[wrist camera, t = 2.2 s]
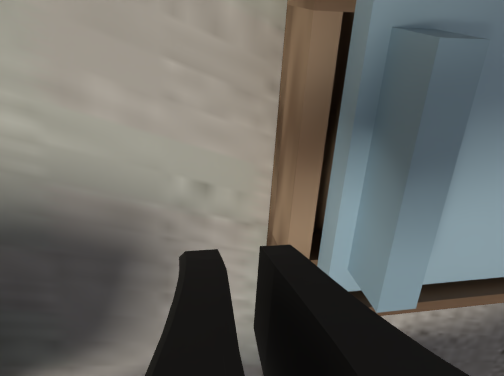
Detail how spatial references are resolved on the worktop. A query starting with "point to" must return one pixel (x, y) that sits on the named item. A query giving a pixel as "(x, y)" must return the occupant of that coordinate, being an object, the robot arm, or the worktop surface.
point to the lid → (418, 151)
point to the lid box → (328, 145)
